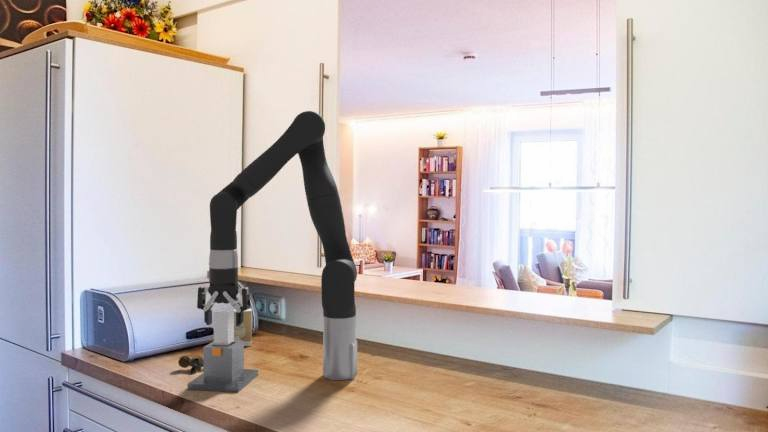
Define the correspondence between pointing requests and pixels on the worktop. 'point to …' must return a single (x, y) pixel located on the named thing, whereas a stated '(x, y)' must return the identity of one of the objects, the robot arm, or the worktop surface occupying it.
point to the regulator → (191, 363)
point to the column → (224, 327)
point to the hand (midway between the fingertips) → (223, 325)
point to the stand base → (223, 369)
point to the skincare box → (244, 328)
